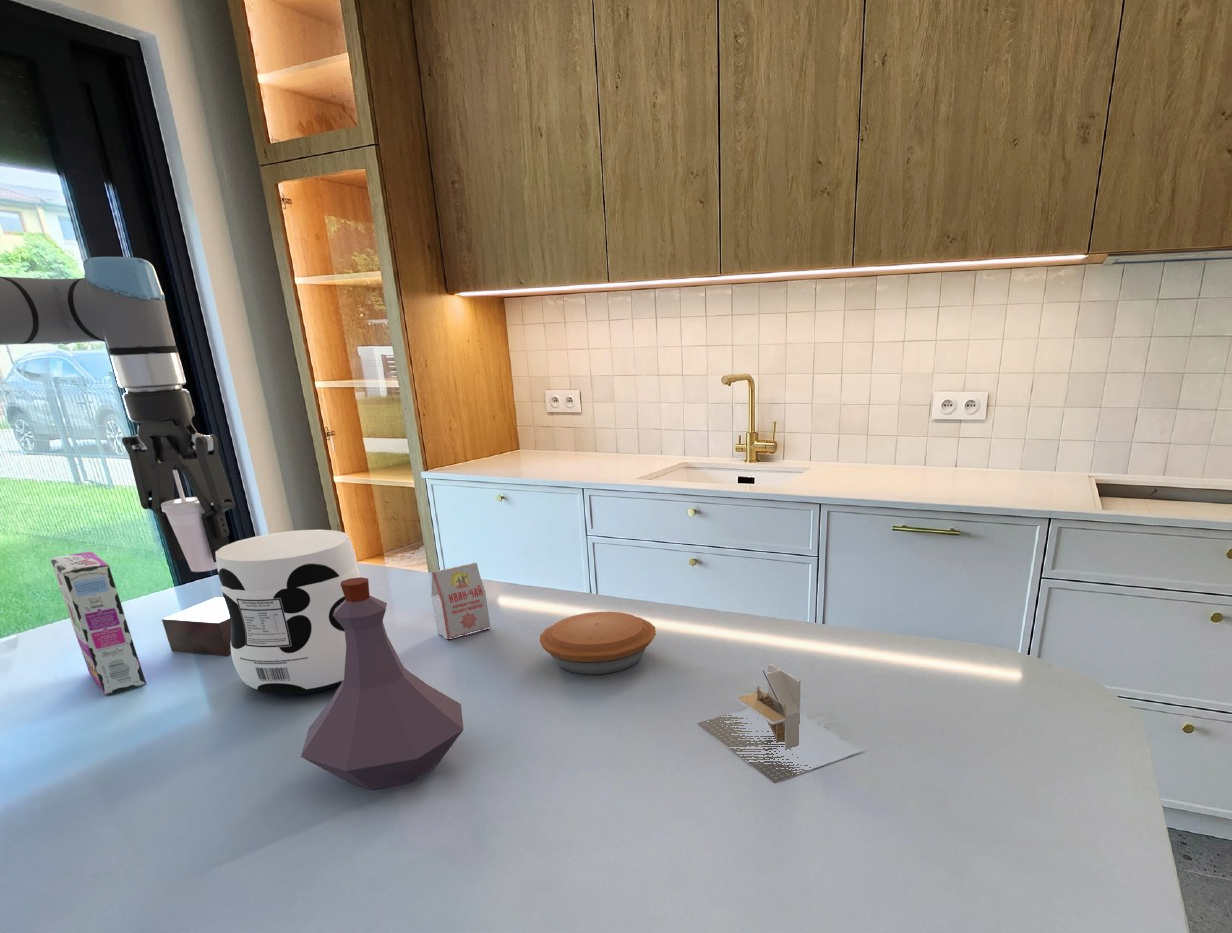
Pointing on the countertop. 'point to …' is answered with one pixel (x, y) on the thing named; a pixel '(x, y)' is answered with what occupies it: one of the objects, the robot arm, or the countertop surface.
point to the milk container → (287, 608)
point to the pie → (597, 641)
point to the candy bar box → (98, 621)
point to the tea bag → (459, 601)
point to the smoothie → (189, 529)
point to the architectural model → (781, 717)
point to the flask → (379, 706)
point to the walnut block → (200, 629)
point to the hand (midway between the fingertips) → (203, 558)
